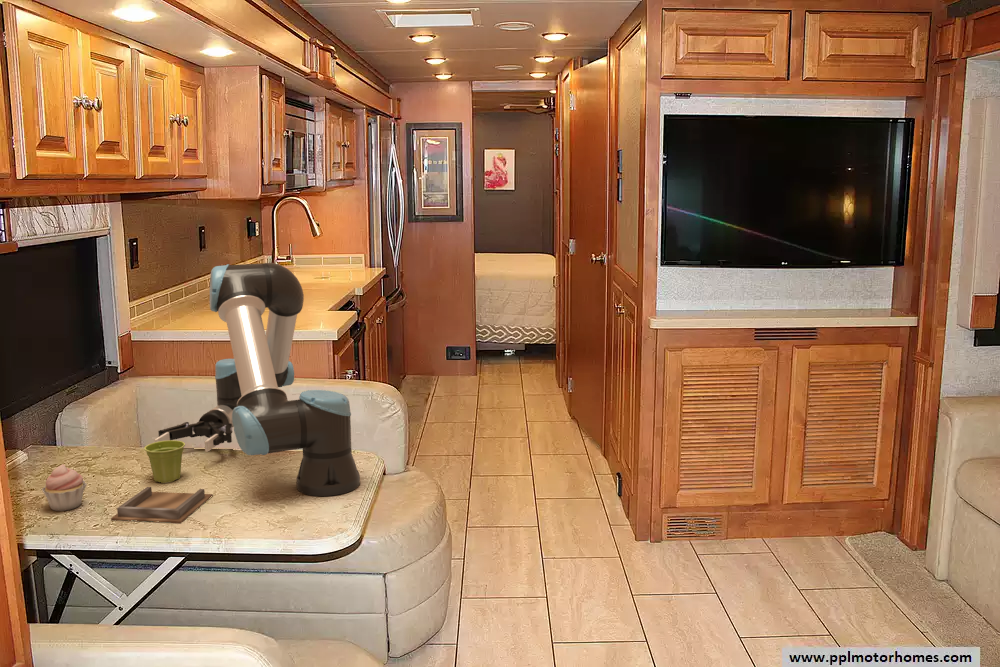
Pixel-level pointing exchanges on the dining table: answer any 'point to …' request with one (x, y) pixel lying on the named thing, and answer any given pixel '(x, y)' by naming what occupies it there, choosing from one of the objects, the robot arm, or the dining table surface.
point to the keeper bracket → (161, 506)
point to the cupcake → (64, 489)
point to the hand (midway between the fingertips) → (180, 445)
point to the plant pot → (165, 459)
